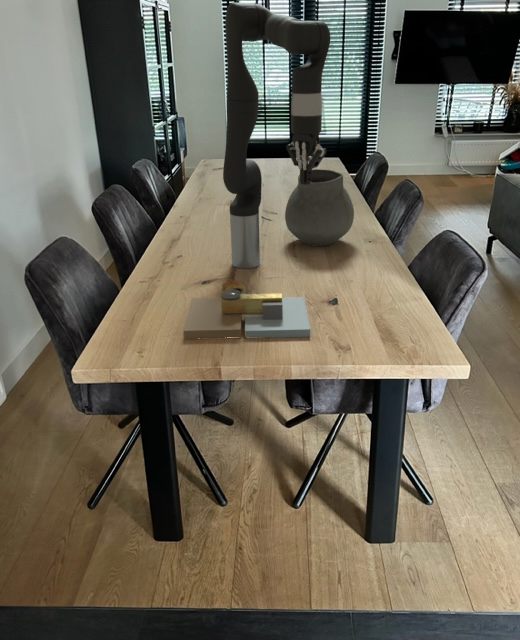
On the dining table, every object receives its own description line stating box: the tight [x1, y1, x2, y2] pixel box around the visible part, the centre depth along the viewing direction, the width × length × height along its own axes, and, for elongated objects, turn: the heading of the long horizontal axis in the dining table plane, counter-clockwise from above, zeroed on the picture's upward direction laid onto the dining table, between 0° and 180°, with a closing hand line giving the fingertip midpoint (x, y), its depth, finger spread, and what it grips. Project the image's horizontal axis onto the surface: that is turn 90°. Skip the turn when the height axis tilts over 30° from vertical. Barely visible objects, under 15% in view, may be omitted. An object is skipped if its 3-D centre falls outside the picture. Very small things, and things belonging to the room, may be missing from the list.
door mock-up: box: [183, 296, 311, 340], centre depth 148 cm, size 20×31×6 cm, turn 91°
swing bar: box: [220, 289, 283, 313], centre depth 147 cm, size 16×5×5 cm, turn 90°
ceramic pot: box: [284, 168, 355, 247], centre depth 201 cm, size 24×24×25 cm
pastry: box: [221, 280, 248, 294], centre depth 166 cm, size 9×7×4 cm
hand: (305, 183), depth 147 cm, fingers closed
